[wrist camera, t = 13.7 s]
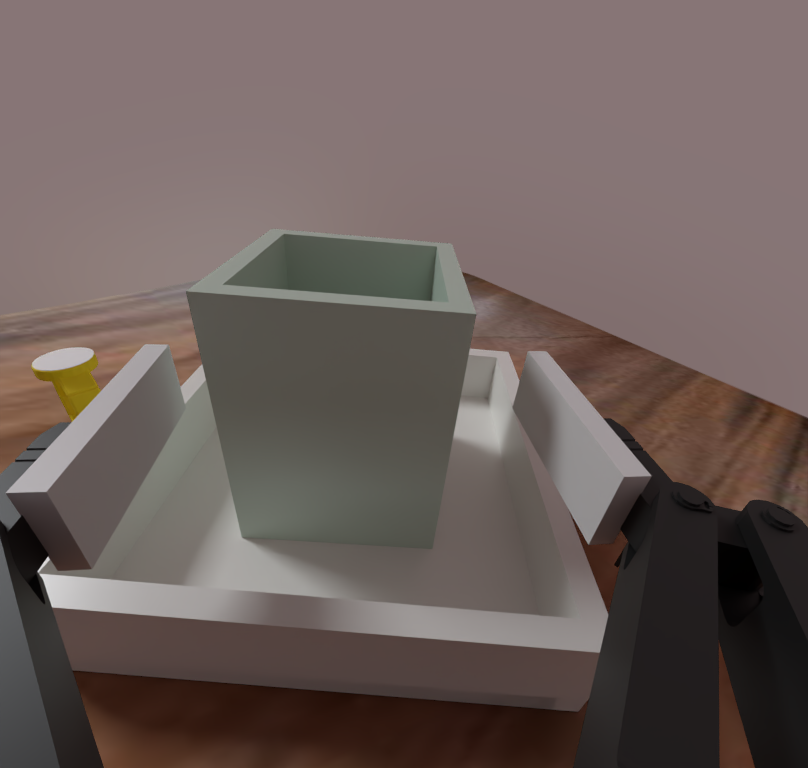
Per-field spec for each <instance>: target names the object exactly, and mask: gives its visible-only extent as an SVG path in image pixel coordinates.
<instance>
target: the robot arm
mask: <svg viewBox="0 0 808 768" xmlns="http://www.w3.org/2000/svg"><path fill="white" fill-rule="evenodd" d="M512 409H513V410H514V412H515V414H516V416H517V418H518V419H519V421H520V423H521V425H522V427H523V428H524V430H525V432H526V434H527V436H528V437H529V439H530V441H531V443H532V444H533V446H534V448H535V450H536V452H537V453H538V455H539V457H540V459H541V461H542V462H543V464H544V466H545V468H546V470H547V471H548V473H549V475H550V477H551V479H552V480H553V482H554V484H555V486H556V488H557V489H558V491H559V493H560V495H561V497H562V498H563V500H564V502H565V504H566V506H567V507H568V509H569V511H570V513H571V514H572V516H573V518H574V520H575V522H576V523H577V525H578V527H579V529H580V531H581V532H582V534H583V536H584V538H585V540H586V541H587V543H588V545H594V544H613V542H614V541H615V539H616V537H617V535H618V534H619V532H620V530H621V531H622V532H623V534H624V535H625V537H626V538H627V540H628V543H627V544H626V546H625V548H624V549H623V551H622V553H621V554H620V556H619V558H618V559H617V561H616V563H615V564H614V565H615V566H617V567H618V566H619V565H620V567H619V572H618V576H617V580H616V585H615V589H614V593H613V598H612V602H611V606H610V610H609V615H608V619H607V623H606V628H605V632H604V636H603V641H602V645H601V649H600V654H599V658H598V662H597V667H596V671H595V675H594V680H593V684H592V688H591V693H590V697H589V701H588V706H587V710H586V714H585V719H584V723H583V727H582V732H581V736H580V740H579V745H578V749H577V753H576V758H575V762H574V766H573V768H719V645H718V639H719V643H720V646H721V650H722V653H723V657H724V660H725V664H726V667H727V671H728V674H729V678H730V681H731V685H732V688H733V692H734V695H735V699H736V702H737V706H738V709H739V713H740V716H741V720H742V723H743V727H744V730H745V734H746V737H747V741H748V744H749V748H750V751H751V755H752V758H753V762H754V765H755V768H808V527H807V526H806V525H805V524H804V523H803V521H802V520H800V519H799V518H798V517H797V516H795V515H794V514H793V513H792V512H790V511H789V510H787V509H785V508H783V507H781V506H779V505H776V504H774V503H771V502H768V501H763V500H752V501H750V502H749V503H748V504H747V505H746V506H745V508H744V509H743V510H742V511H737V510H732V509H728V508H723V507H719V506H715V505H714V504H713V503H712V502H711V500H710V499H709V498H708V497H707V496H705V495H704V494H703V493H701V492H700V491H698V490H696V489H695V488H693V487H691V486H688V485H685V484H682V483H678V482H673V481H672V480H671V479H670V478H669V477H668V476H667V475H666V474H665V472H664V471H663V470H662V469H661V468H660V467H659V466H658V465H657V463H656V462H655V461H654V460H653V459H652V458H651V457H650V456H649V454H648V453H647V452H646V451H643V448H642V447H641V445H640V444H639V443H638V442H635V439H634V438H633V437H632V435H631V434H630V433H629V432H628V431H627V430H626V429H625V428H624V427H623V426H621V425H620V424H618V423H617V422H615V421H614V420H612V419H603V418H602V417H601V415H600V414H599V413H598V412H597V411H596V410H595V408H594V407H593V406H592V405H591V404H590V402H589V401H588V400H587V399H586V398H585V397H584V395H583V394H582V393H581V392H580V391H579V389H578V388H577V387H576V386H575V385H574V383H573V382H572V381H571V380H570V379H569V378H568V376H567V375H566V374H565V373H564V372H563V370H562V369H561V368H560V367H559V366H558V365H557V363H556V362H555V361H554V360H553V359H552V357H551V356H550V355H549V354H548V353H547V352H542V351H528V353H527V357H526V360H525V364H524V368H523V371H522V375H521V378H520V382H519V386H518V389H517V393H516V396H515V400H514V404H513V407H512ZM185 410H186V406H185V403H184V399H183V395H182V392H181V388H180V384H179V381H178V377H177V373H176V369H175V366H174V362H173V358H172V355H171V351H170V347H169V345H153V344H145V345H144V346H143V347H142V348H141V349H140V350H139V351H138V352H137V353H136V355H135V356H134V357H133V358H132V359H131V360H130V361H129V362H128V363H127V364H126V365H125V366H124V367H123V368H122V369H121V370H120V372H119V373H118V374H117V375H116V376H115V377H114V378H113V379H112V380H111V381H110V382H109V383H108V384H107V385H106V386H105V388H104V389H103V390H102V391H101V392H100V393H99V394H98V395H97V396H96V397H95V398H94V399H93V400H92V401H91V402H90V403H89V405H88V406H87V407H86V408H85V409H84V410H83V411H82V412H81V413H80V414H79V415H78V416H77V417H76V418H75V419H74V420H73V422H72V423H59V424H57V425H56V426H54V427H52V428H51V429H49V430H47V431H46V432H44V433H42V434H41V435H39V436H38V437H37V438H36V439H35V440H34V441H33V442H32V443H31V444H30V445H29V446H28V447H27V451H23V452H22V453H21V454H20V455H19V456H18V457H17V458H16V459H15V463H11V464H10V465H9V466H8V467H7V468H6V469H5V470H4V471H3V472H2V473H1V474H0V768H104V767H103V764H102V761H101V757H100V754H99V751H98V748H97V745H96V742H95V739H94V736H93V733H92V730H91V727H90V723H89V720H88V717H87V714H86V711H85V708H84V705H83V702H82V699H81V696H80V692H79V689H78V686H77V683H76V680H75V677H74V674H73V671H72V668H71V665H70V662H69V658H68V655H67V652H66V649H65V646H64V643H63V640H62V637H61V634H60V631H59V628H58V624H57V621H56V618H55V615H54V612H53V609H52V606H51V603H50V600H49V597H48V593H47V590H46V587H45V584H44V581H43V579H42V577H41V576H40V575H39V573H38V572H37V571H38V570H39V569H40V567H41V566H42V564H43V563H44V562H45V560H46V559H47V557H49V559H50V560H51V562H52V563H53V565H54V566H55V568H56V569H57V571H69V570H90V569H93V567H94V565H95V564H96V562H97V560H98V558H99V557H100V555H101V553H102V552H103V550H104V548H105V547H106V545H107V543H108V541H109V540H110V538H111V536H112V535H113V533H114V531H115V529H116V528H117V526H118V524H119V523H120V521H121V519H122V517H123V516H124V514H125V512H126V511H127V509H128V507H129V505H130V504H131V502H132V500H133V499H134V497H135V495H136V494H137V492H138V490H139V488H140V487H141V485H142V483H143V482H144V480H145V478H146V476H147V475H148V473H149V471H150V470H151V468H152V466H153V464H154V463H155V461H156V459H157V458H158V456H159V454H160V452H161V451H162V449H163V447H164V446H165V444H166V442H167V441H168V439H169V437H170V435H171V434H172V432H173V430H174V429H175V427H176V425H177V423H178V422H179V420H180V418H181V417H182V415H183V413H184V411H185Z"/></svg>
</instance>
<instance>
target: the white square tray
mask: <svg viewBox="0 0 808 768" xmlns="http://www.w3.org/2000/svg"><path fill="white" fill-rule="evenodd" d="M519 382H520V381H519V379H518V376H517V373H516V371H515V368H514V366H513V363H512V360H511V358H510V355H509V352H502V351H490V350H479V349H470V350H469V356H468V361H467V367H466V372H465V377H464V383H463V388H462V393H461V399H460V404H459V409H458V415H457V420H456V425H455V431H454V436H453V441H452V447H451V452H450V457H449V463H448V468H447V473H446V479H445V484H444V489H443V495H442V500H441V505H440V511H439V516H438V521H437V527H436V532H435V537H434V543H433V548H432V549H422V548H406V547H390V546H373V545H357V544H341V543H324V542H308V541H292V540H276V539H259V538H243V537H241V532H240V528H239V523H238V519H237V514H236V510H235V506H234V501H233V497H232V492H231V488H230V484H229V479H228V475H227V470H226V466H225V462H224V457H223V453H222V448H221V444H220V440H219V435H218V431H217V426H216V422H215V417H214V413H213V409H212V404H211V400H210V395H209V391H208V387H207V382H206V378H205V373H204V369H203V365H201V366H200V367H199V368H198V369H197V370H196V371H195V372H194V373H193V374H192V375H191V376H190V378H189V379H188V380H187V381H186V382H185V383H184V384H183V385H182V386H181V387H180V388H181V392H182V395H183V399H184V403H185V406H186V410H185V411H184V413H183V415H182V417H181V418H180V420H179V422H178V423H177V425H176V427H175V429H174V430H173V432H172V434H171V435H170V437H169V439H168V441H167V442H166V444H165V446H164V447H163V449H162V451H161V452H160V454H159V456H158V458H157V459H156V461H155V463H154V464H153V466H152V468H151V470H150V471H149V473H148V475H147V476H146V478H145V480H144V482H143V483H142V485H141V487H140V488H139V490H138V492H137V494H136V495H135V497H134V499H133V500H132V502H131V504H130V505H129V507H128V509H127V511H126V512H125V514H124V516H123V517H122V519H121V521H120V523H119V524H118V526H117V528H116V529H115V531H114V533H113V535H112V536H111V538H110V540H109V541H108V543H107V545H106V547H105V548H104V550H103V552H102V553H101V555H100V557H99V558H98V560H97V562H96V564H95V565H94V567H93V569H90V570H69V571H57V569H56V568H55V566H54V565H53V563H52V562H51V560H50V559H49V557H47V559H46V560H45V562H44V563H43V564H42V566H41V567H40V569H39V570H38V571H37V572H38V573H39V575H40V576H41V577H42V579H43V581H44V584H45V587H46V590H47V593H48V597H49V600H50V603H51V606H52V609H53V612H54V615H55V618H56V621H57V624H58V628H59V631H60V634H61V637H62V640H63V643H64V646H65V649H66V652H67V655H68V658H69V662H70V665H71V668H72V670H74V671H86V672H99V673H111V674H123V675H135V676H148V677H160V678H172V679H184V680H196V681H209V682H221V683H233V684H245V685H258V686H270V687H282V688H294V689H307V690H319V691H331V692H343V693H355V694H368V695H380V696H392V697H404V698H417V699H429V700H441V701H453V702H465V703H478V704H490V705H502V706H514V707H527V708H539V709H551V710H563V711H575V712H579V710H580V709H581V708H582V707H583V705H584V704H585V703H586V702H587V700H588V699H589V697H590V693H591V688H592V684H593V680H594V675H595V671H596V667H597V662H598V658H599V654H600V649H601V645H602V641H603V636H604V632H605V628H606V623H607V619H608V612H607V610H606V607H605V604H604V602H603V599H602V597H601V594H600V591H599V589H598V586H597V583H596V581H595V578H594V576H593V573H592V570H591V568H590V565H589V562H588V560H587V557H586V555H585V552H584V549H583V547H582V544H581V541H580V539H579V536H578V534H577V531H576V528H575V526H574V523H573V520H572V518H571V515H570V513H569V510H568V507H567V506H566V504H565V502H564V500H563V498H562V497H561V495H560V493H559V491H558V489H557V488H556V486H555V484H554V482H553V480H552V479H551V477H550V475H549V473H548V471H547V470H546V468H545V466H544V464H543V462H542V461H541V459H540V457H539V455H538V453H537V452H536V450H535V448H534V446H533V444H532V443H531V441H530V439H529V437H528V436H527V434H526V432H525V430H524V428H523V427H522V425H521V423H520V421H519V419H518V418H517V416H516V414H515V412H514V410H513V409H512V407H513V404H514V400H515V396H516V393H517V389H518V386H519Z"/></svg>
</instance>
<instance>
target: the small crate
mask: <svg viewBox="0 0 808 768" xmlns="http://www.w3.org/2000/svg"><path fill="white" fill-rule="evenodd" d="M186 294H187V298H188V303H189V307H190V312H191V316H192V320H193V325H194V329H195V334H196V338H197V343H198V347H199V351H200V356H201V360H202V365H203V369H204V373H205V378H206V382H207V387H208V391H209V395H210V400H211V404H212V409H213V413H214V417H215V422H216V426H217V431H218V435H219V440H220V444H221V448H222V453H223V457H224V462H225V466H226V470H227V475H228V479H229V484H230V488H231V492H232V497H233V501H234V506H235V510H236V514H237V519H238V523H239V528H240V532H241V537H243V538H259V539H276V540H292V541H308V542H324V543H341V544H357V545H373V546H390V547H406V548H422V549H432V548H433V543H434V537H435V532H436V527H437V521H438V516H439V511H440V505H441V500H442V495H443V489H444V484H445V479H446V473H447V468H448V463H449V457H450V452H451V447H452V441H453V436H454V431H455V425H456V420H457V415H458V409H459V404H460V399H461V393H462V388H463V383H464V377H465V372H466V367H467V361H468V356H469V350H470V345H471V340H472V334H473V329H474V324H475V318H476V312H475V309H474V306H473V303H472V300H471V297H470V294H469V292H468V289H467V286H466V283H465V280H464V277H463V274H462V272H461V269H460V266H459V263H458V260H457V258H456V254H455V252H454V249H453V246H452V244H448V243H435V242H424V241H412V240H400V239H388V238H375V237H364V236H352V235H340V234H328V233H315V232H303V231H291V230H280V229H271V230H270V231H268V232H267V233H266V234H264V235H263V236H262V237H260V238H259V239H257V240H256V241H254V242H253V243H252V244H250V245H249V246H248V247H246V248H245V249H244V250H242V251H241V252H239V253H238V254H237V255H236V256H234V257H232V258H231V259H230V260H228V261H227V262H225V263H224V264H223V265H221V266H220V267H219V268H217V269H216V270H214V271H213V272H212V273H210V274H209V275H207V276H206V277H205V278H203V279H202V280H201V281H199V282H198V283H196V284H195V285H194V286H192V287H191V288H190V289H188V290H187V291H186Z"/></svg>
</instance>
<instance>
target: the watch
mask: <svg viewBox="0 0 808 768" xmlns="http://www.w3.org/2000/svg"><path fill="white" fill-rule="evenodd" d="M97 365H98V361H97V358H96V355H95V353H94V352H93V350H91V349H88V348H80V347H75V348H66V349H61V350H56V351H53V352H49V353H47V354H44V355H42V356H40V357H38V358H37V359H35V360H34V362H33V363H32V364H31V367H32V370H33V372H34V374H35V376H36V377H37V378H38V379H40V380H43V381H52V383H53V385H54V387H55V389H56V391H57V393H58V395H59V396H60V397H59V398H60V399H61V401H62V403H63V405H64V407H65V409H66V411H67V413H68V415H70V416H69V417H70V419H71V421H72V422H73V420H74V419H75V418H76V417H77V416H78V415H79V414H80V413H81V412H82V411H83V410H84V409H85V408H86V407H87V406H88V405H89V403H90V402H91V401H92V400H93V399H94V398H95V397H96V396H97V395H98V394H99V393H100V392H101V390H100V388H98V385H97V383H96V381H95V380H94V378H93V376H92V375H91V373H90V372H91V371H92V370H94V369H95V368H96V367H97Z"/></svg>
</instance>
